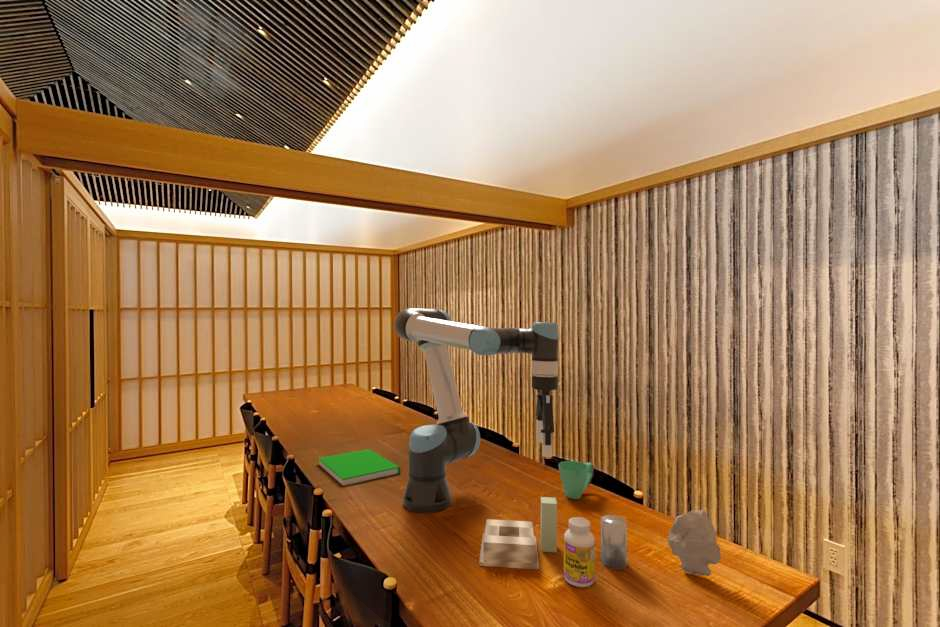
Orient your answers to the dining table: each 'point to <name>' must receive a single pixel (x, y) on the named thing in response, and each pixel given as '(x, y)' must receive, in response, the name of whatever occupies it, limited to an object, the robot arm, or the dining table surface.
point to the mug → (575, 477)
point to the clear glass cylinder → (614, 542)
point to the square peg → (548, 524)
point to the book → (358, 466)
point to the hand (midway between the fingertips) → (543, 449)
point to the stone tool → (694, 542)
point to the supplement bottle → (579, 553)
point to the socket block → (509, 545)
